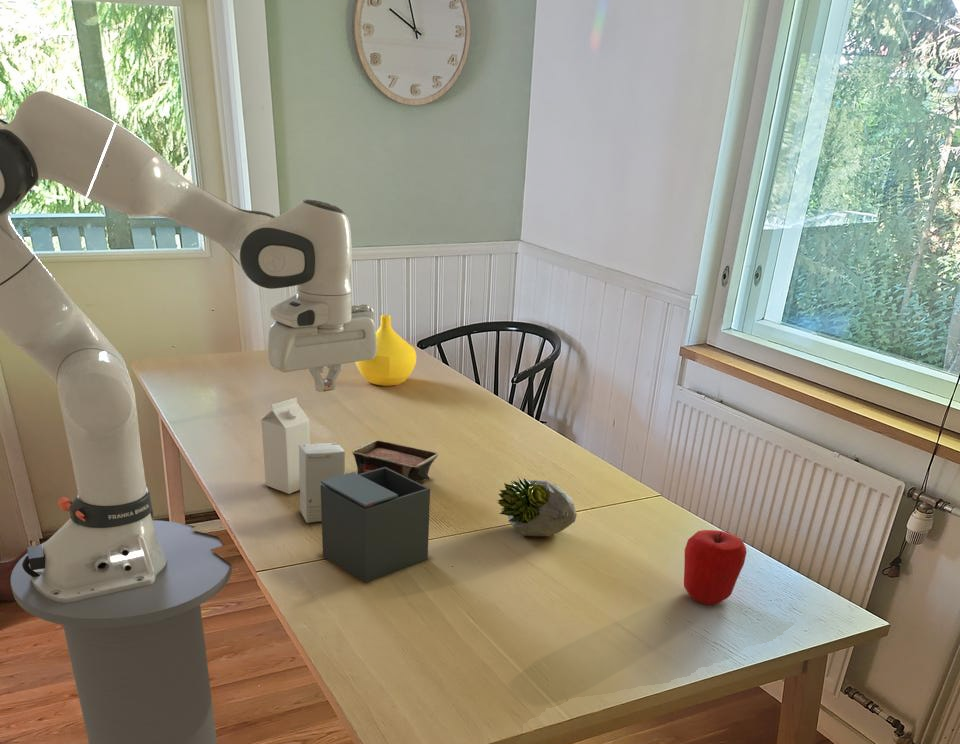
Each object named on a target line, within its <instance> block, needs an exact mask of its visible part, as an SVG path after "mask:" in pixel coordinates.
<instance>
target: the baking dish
mask: <svg viewBox="0 0 960 744" xmlns="http://www.w3.org/2000/svg"><path fill="white" fill-rule="evenodd" d="M351 453H352V455H353V457H354V460H355V464H356V469H357V472H356V473H357V474H362V473H365V472H369V471H372V470H376V469H379V468H383V467H387V468H389V469H391V470H393V471H395V472H397V473H399V474H401V475H403V476H405V477H407V478H409V479H411V480H413V481H415V482H420V481H425V480H427V481H430V480H431V478H430V477H429V471H430V467H431V466H432V464H433V463H434V462H435V460H436V459H437V458H438V456H439V453H438V452H436V451H432V450H427V449H422V448H417V447H414V446H413V447H412V446H408V445H404V444H399V443H395V442H390V441H385V440H381V439H380V440H379V439H377V440H371V441H369V442H366V443H365V444H362V445H360V446H358V447H356V448H354V449H352V450H351Z"/></svg>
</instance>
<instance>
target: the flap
mask: <svg viewBox="0 0 960 744" xmlns="http://www.w3.org/2000/svg"><path fill="white" fill-rule="evenodd" d="M321 483H322V484H324V485H326V486H328V487H329V488H331V489H333V490H335V491H337V492H339V493H340V494H342V495H344V496H346V497H348V498H350V499H352V500H353V501H355V502H357V503H359V504H361V505H363V506H364V507H366V506H370V505H373V504H376V503H379V502H382V501H386V500H389V499H392V498H395V497H398V494H396V493H394V492H392V491H390V490H388V489H386V488H384V487H382V486H380V485H378V484H376V483H374V482H372V481H370V480H368V479H367V478H365V477H363V476H361V475H359V474H358V472H354V471H352V472H347V473H345V474H344V475H340V476H337V477H333V478H330V479H326V480H322V481H321Z"/></svg>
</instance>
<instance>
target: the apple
mask: <svg viewBox="0 0 960 744" xmlns="http://www.w3.org/2000/svg"><path fill="white" fill-rule="evenodd" d="M747 553H748V552H747V547H746V545H745V543H744V540H743V539H742V538H740V537H739V536H737V535H735V534H732V533H731V532H727V531H723V530H716V529H701V530H697V531H696V532H695V533H694V534H693V535H691V536H690V537H689V538H688V539H687V541H686V545H685V547H684V565H683V566H684V567H683V568H684V569H683V587H684V589H685V591H686V592H687V594H688V595H689V597H690V598H691V599H692V600H694V601H695V602H697V603H700V604H703V605H709V606H715V605H717V604H719V603H721V602H723V601H725V600H727V599H728V598H729V597H730V596H731V595H732V593H733V590H734V588H735V585H736V583H737V580H738V579H739V577H740V574H741V572H742V569H743V567H744V565H745V561H746V556H747Z"/></svg>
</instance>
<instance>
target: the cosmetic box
mask: <svg viewBox="0 0 960 744" xmlns="http://www.w3.org/2000/svg"><path fill="white" fill-rule="evenodd" d="M299 470H300V490H299V510H300V513H301V515H302V517H303V519H304V520H305V522H306V524H311V523H318V522H322V515H321V486H320V485H323V484H322V483H321V481H322V480H326V479H330V478H333V477H337V476H340V475H344V474H346V451H345V449H343V448H342V446H341V445H340V443H338V442H326V443H325V442H324V443H322V442H317V443H310V444H305V445H299Z"/></svg>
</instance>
